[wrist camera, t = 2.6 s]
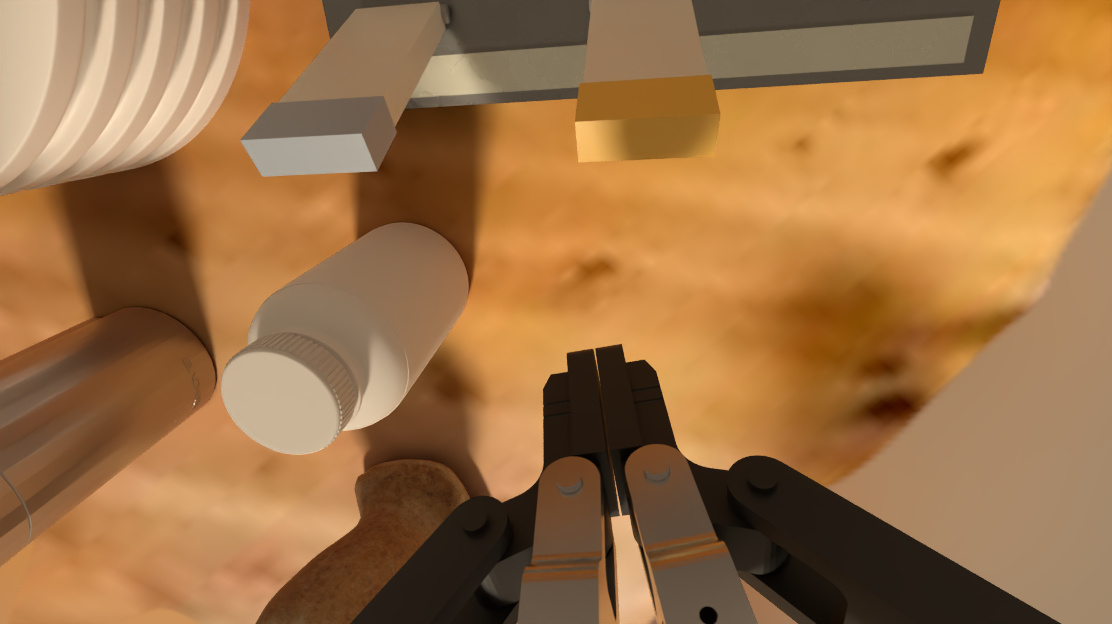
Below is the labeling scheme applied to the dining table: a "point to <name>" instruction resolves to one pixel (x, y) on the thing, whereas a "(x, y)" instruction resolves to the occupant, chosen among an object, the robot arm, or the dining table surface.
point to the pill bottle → (345, 339)
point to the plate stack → (109, 83)
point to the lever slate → (349, 94)
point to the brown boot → (370, 543)
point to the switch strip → (725, 35)
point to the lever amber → (645, 84)
